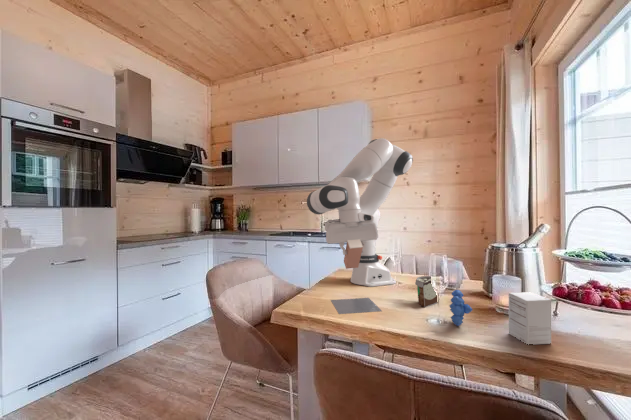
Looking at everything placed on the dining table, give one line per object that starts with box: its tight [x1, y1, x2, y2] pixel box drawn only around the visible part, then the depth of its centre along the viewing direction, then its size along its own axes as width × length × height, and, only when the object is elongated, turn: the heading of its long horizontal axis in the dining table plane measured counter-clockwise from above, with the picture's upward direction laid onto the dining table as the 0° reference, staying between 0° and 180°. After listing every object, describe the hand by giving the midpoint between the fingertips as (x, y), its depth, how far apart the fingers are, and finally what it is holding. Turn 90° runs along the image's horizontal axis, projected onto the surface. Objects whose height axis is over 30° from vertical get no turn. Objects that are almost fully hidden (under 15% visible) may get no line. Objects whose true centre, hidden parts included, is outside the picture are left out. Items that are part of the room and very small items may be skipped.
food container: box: [414, 275, 438, 309], centre depth 114 cm, size 12×6×10 cm, turn 124°
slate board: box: [330, 297, 383, 315], centre depth 109 cm, size 16×15×1 cm
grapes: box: [449, 289, 473, 327], centre depth 92 cm, size 12×7×12 cm, turn 148°
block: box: [343, 239, 363, 270], centre depth 111 cm, size 5×4×12 cm
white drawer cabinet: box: [508, 291, 552, 346], centre depth 83 cm, size 7×7×13 cm
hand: (353, 253), depth 110 cm, fingers closed on block, 5 cm apart
